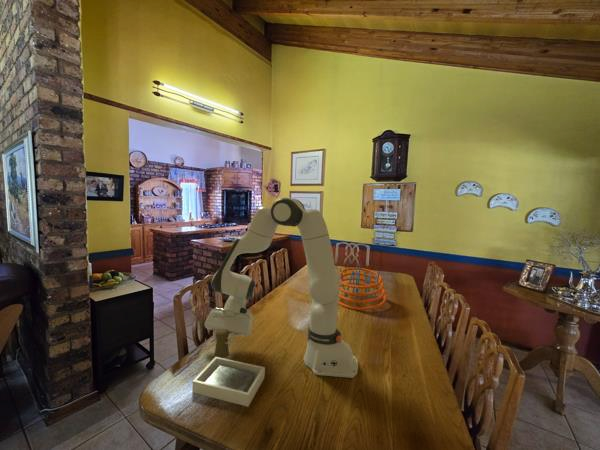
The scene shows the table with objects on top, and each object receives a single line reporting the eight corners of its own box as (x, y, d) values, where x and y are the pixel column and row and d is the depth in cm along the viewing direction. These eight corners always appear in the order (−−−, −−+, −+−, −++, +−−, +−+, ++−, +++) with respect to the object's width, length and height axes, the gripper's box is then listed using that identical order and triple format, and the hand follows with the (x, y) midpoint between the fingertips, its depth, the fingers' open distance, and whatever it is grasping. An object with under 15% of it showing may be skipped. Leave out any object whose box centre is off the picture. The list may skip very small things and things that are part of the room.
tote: (264, 380, 95) (264, 367, 95) (248, 409, 82) (248, 394, 81) (215, 368, 100) (215, 356, 99) (192, 395, 86) (192, 381, 86)
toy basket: (393, 314, 160) (396, 278, 156) (337, 315, 160) (337, 279, 156) (377, 290, 194) (378, 259, 189) (330, 291, 194) (330, 260, 189)
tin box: (254, 379, 94) (254, 372, 93) (242, 399, 84) (242, 392, 84) (219, 371, 97) (219, 365, 97) (203, 390, 87) (204, 383, 87)
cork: (223, 349, 112) (224, 325, 111) (232, 355, 108) (233, 330, 107) (211, 355, 107) (211, 330, 106) (219, 362, 104) (220, 336, 102)
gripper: (209, 304, 115) (195, 336, 107) (252, 311, 110) (241, 345, 102) (215, 309, 120) (202, 340, 111) (256, 316, 115) (246, 349, 107)
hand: (221, 343), depth 107 cm, fingers closed on cork, 4 cm apart
